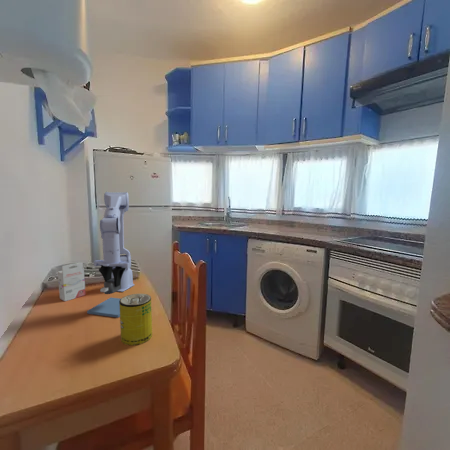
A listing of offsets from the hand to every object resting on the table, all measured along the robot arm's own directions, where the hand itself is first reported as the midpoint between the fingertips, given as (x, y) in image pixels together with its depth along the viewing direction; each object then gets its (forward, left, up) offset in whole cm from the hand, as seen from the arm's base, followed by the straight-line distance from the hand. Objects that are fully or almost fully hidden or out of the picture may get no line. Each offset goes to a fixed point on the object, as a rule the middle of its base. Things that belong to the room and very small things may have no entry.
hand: (113, 285), depth 100 cm
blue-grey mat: (0, 0, -9) cm, 9 cm away
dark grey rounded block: (0, 0, -2) cm, 2 cm away
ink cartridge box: (-5, -24, -9) cm, 26 cm away
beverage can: (+16, +20, -9) cm, 27 cm away
